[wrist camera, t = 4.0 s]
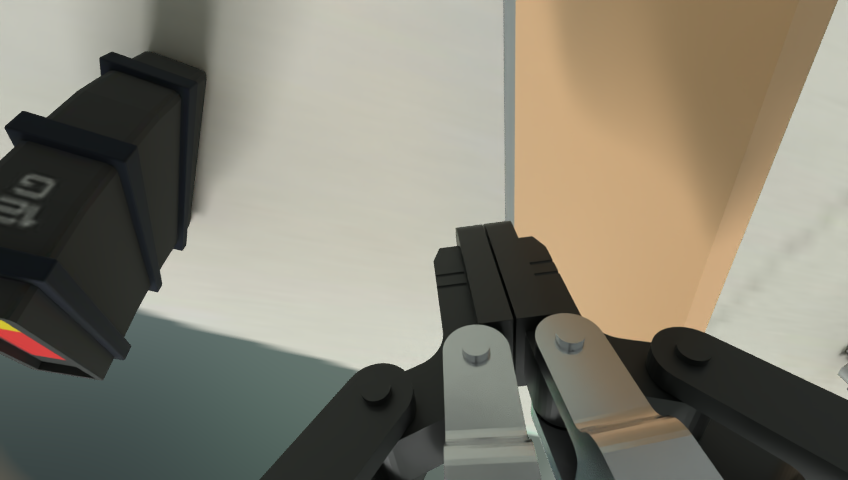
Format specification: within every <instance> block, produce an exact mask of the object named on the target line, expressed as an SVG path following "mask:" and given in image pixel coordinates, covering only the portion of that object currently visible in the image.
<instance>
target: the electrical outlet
mask: <svg viewBox="0 0 848 480" xmlns="http://www.w3.org/2000/svg"><path fill="white" fill-rule="evenodd" d="M846 352H847V353H848V349H847V350H846ZM838 375H839V376H840V377H841V378H842V379H843V380H844V381H845V382H846V383H847V384H848V364H846V365H845V366H844V367H842V368H841V370H840V371H839V373H838ZM847 390H848V388H847Z"/></svg>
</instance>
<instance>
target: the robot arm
mask: <svg viewBox="0 0 848 480" xmlns="http://www.w3.org/2000/svg"><path fill="white" fill-rule="evenodd" d="M456 241H457V246H454V247H447V248H440V249H439V251H438V253H437V255H436V257H435V260H434V268H435V275H436V283H437V291H438V298H439V306H440V313H441V321H442V328H443V341H442V344H441V346H440V348H439V349H438V351H437V352H436V353H435V355H434V356H432V357H431V358H430V359H429V360H427V361H426V362H424V363H422V364H420V365H418V366H416V367H414V368H411V369H409V370H407V371H404V370H403V369H401V368H400V367H398V366H395V365H392V364H386V363H380V364H374V365H370V366H368V367H365V368H363V369H361V370H360V371H358V372H357V373H356V374H355V375H354V376H353V377H352V378H351V379H350V380H349V381H348V382H347V383H346V384H345V385H344V386H343V388H342V389H341V390H340V391H339V392H338V393H337V394H336V395H335V397H333V399H332V400H331V401H330V402H329V403H328V404H327V405H326V406H325V408H324V409H323V410H322V411H321V412H320V413H319V414H318V415H317V416H316V418H315V419H314V420H313V421H312V422H311V423H310V424H309V425H308V427H307V428H306V429H305V430H304V431H303V432H302V433H301V434H300V435H299V437H298V438H297V439H296V440H295V441H294V442H293V443H292V444H291V445H290V446H289V448H288V449H287V450H286V451H285V452H284V453H283V454H282V455H281V457H280V458H279V459H278V460H277V461H276V462H275V463H274V464H273V465H272V466H271V468H270V469H269V470H268V471H267V472H266V473H265V474H264V475H263V477H262V478H261V479H260V480H424V478H425V476H426V474H427V472H428V471H430V470H432V469H434V468H436V467H438V466H440V465H442V464H444V480H542V479H541V475H540V469H539V465H538V460H537V455H536V451H535V448H534V445H533V442H532V440H531V439H529V437H528V434H527V431H526V426H525V421H524V416H523V411H522V406H521V401H520V396H519V391H518V386H526V385H527V387H528V390H529V394H530V397H531V416H532V419H533V422H534V425H535V427H536V430H537V433H538V435H539V438H540V440H541V443H542V446H543V448H544V451H545V453H546V456H547V459H548V461H549V464H550V467H551V469H552V472H553V474H554V477H555V479H556V480H848V400H846V399H844V398H842V397H840V396H838V395H836V394H834V393H832V392H829V391H827V390H825V389H823V388H821V387H819V386H817V385H815V384H813V383H810V382H808V381H806V380H804V379H802V378H800V377H798V376H796V375H793V374H791V373H789V372H787V371H785V370H783V369H781V368H779V367H776V366H774V365H772V364H770V363H768V362H766V361H764V360H762V359H760V358H757V357H755V356H753V355H751V354H749V353H747V352H745V351H743V350H740V349H738V348H736V347H734V346H732V345H730V344H728V343H726V342H723V341H721V340H719V339H717V338H715V337H713V336H711V335H709V334H706V333H704V332H702V331H699V330H696V329H692V328H687V327H670V328H666V329H663V330H661V331H659V332H658V333H657V334H655V336H654V337H653V339H652V342H645V341H637V340H630V339H622V338H617V337H613V336H609V335H607V334H604V333H603V332H602V331H601V329H600V328H599V327H598V326H597V325H596V324H595V323H593V322H592V321H590V320H589V319H587V318H585V317H582V316H581V314H580V312H579V310H578V308H577V306H576V304H575V302H574V300H573V299H572V297H571V295H570V293H569V291H568V289H567V287H566V285H565V283H564V281H563V279H562V277H561V275H560V273H558V269H557V267H556V265H555V263H554V262H553V260H552V258H551V256H550V254H549V252H548V250H547V248H546V246H545V245H543V244H542V243H541V242H539V241H538V240H537V239H535V238H534V237H533V236H529V237H521V238H518V236H517V233H516V231H515V229H514V226H513V224H512V222H511V221H504V222H496V223H489V224H484V225H474V226H467V227H459V228H456Z"/></svg>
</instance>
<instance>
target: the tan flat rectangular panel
mask: <svg viewBox="0 0 848 480" xmlns="http://www.w3.org/2000/svg"><path fill="white" fill-rule="evenodd" d="M837 1H838V0H516V15H515V187H514V229H515V231H516V233H517V236H518V238H521V237H529V236H533V237H534V238H535V239H537V240H538V241H539V242H541V243H542V244H543V245H545V246H546V248H547V250H548V252H549V254H550V256H551V258H552V260H553V262H554V263H555V265H556V267H557V269H558V273H560V275H561V277H562V279H563V281H564V283H565V285H566V287H567V289H568V291H569V293H570V295H571V297H572V299H573V300H574V302H575V304H576V306H577V308H578V310H579V312H580V314H581V316H582V317H585V318H587V319H589V320H590V321H592V322H593V323H595V324H596V325H597V326H598V327H599V328H600V329H601V331H602V332H603V333H604V334H607V335H609V336H613V337H617V338H622V339H630V340H637V341H645V342H652V339H653V337H654V336H655V334H657V333H658V332H659V331H661V330H663V329H666V328H670V327H687V328H692V329H696V330H699V331H702V332H704V333H705V330H706V328H707V325H708V323H709V320H710V318H711V315H712V313H713V310H714V308H715V305H716V303H717V300H718V298H719V295H720V293H721V290H722V288H723V285H724V283H725V280H726V278H727V275H728V273H729V270H730V268H731V265H732V263H733V260H734V258H735V255H736V253H737V250H738V248H739V245H740V243H741V240H742V238H743V235H744V233H745V230H746V228H747V225H748V223H749V220H750V218H751V216H752V213H753V211H754V208H755V206H756V203H757V201H758V198H759V196H760V193H761V191H762V188H763V186H764V183H765V181H766V178H767V176H768V173H769V171H770V168H771V166H772V163H773V161H774V158H775V156H776V153H777V151H778V148H779V146H780V143H781V141H782V138H783V136H784V133H785V131H786V128H787V126H788V123H789V121H790V118H791V116H792V113H793V111H794V108H795V106H796V103H797V101H798V98H799V96H800V93H801V91H802V88H803V86H804V83H805V81H806V78H807V76H808V73H809V71H810V68H811V66H812V64H813V61H814V59H815V56H816V54H817V51H818V49H819V46H820V44H821V41H822V39H823V36H824V34H825V31H826V29H827V26H828V24H829V21H830V19H831V16H832V14H833V11H834V9H835V6H836V4H837Z"/></svg>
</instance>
